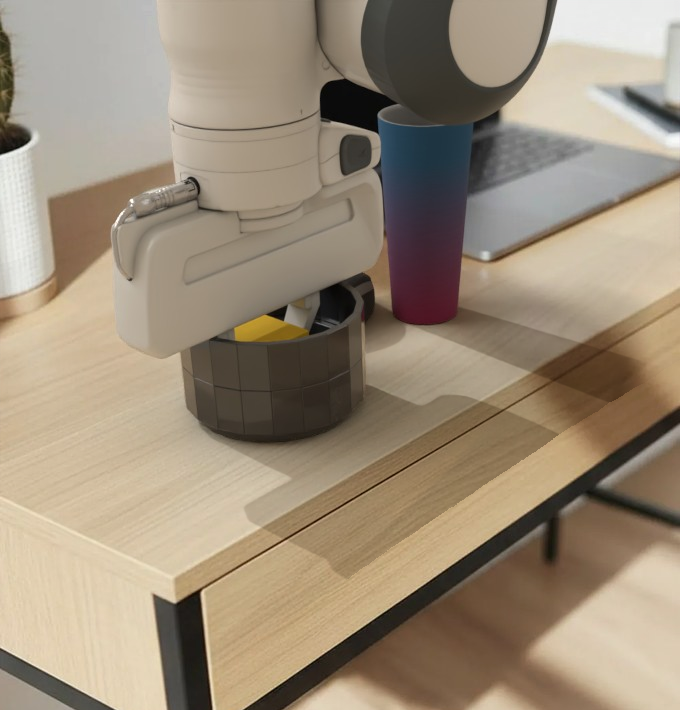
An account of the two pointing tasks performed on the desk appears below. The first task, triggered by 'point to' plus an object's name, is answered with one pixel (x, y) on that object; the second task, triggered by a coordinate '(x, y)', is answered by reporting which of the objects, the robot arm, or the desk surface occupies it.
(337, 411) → the bowl
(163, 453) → the desk surface
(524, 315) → the desk surface
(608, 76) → the desk surface
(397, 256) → the cup
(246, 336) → the cube
